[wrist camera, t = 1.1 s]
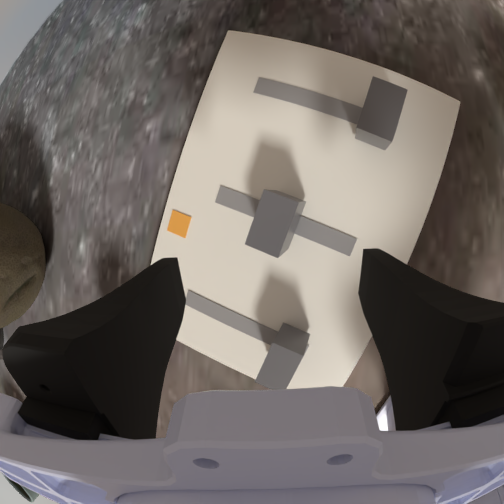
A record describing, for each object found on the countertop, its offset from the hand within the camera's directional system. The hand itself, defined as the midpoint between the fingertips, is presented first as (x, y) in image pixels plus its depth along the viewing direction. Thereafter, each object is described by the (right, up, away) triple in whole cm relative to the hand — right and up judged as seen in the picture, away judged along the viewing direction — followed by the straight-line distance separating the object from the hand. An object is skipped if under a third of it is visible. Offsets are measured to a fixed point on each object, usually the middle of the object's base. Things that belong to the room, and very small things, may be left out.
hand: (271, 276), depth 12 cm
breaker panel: (+2, +3, +10) cm, 11 cm away
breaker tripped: (+1, +3, +8) cm, 8 cm away
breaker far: (+2, -6, +9) cm, 11 cm away
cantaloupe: (-27, +1, +20) cm, 33 cm away
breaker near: (+7, +9, +5) cm, 12 cm away
